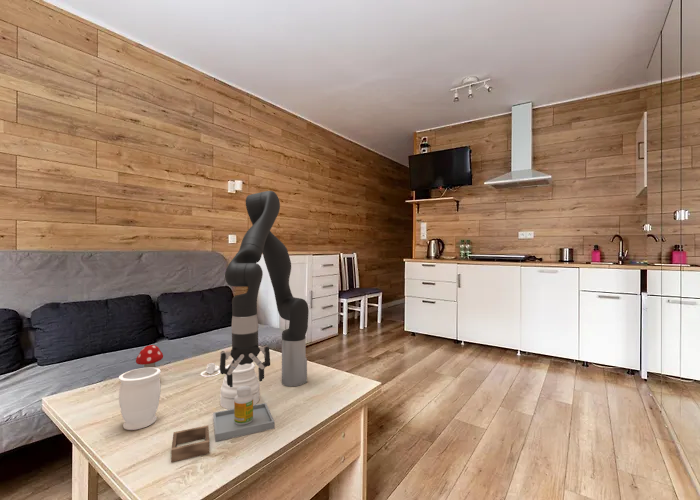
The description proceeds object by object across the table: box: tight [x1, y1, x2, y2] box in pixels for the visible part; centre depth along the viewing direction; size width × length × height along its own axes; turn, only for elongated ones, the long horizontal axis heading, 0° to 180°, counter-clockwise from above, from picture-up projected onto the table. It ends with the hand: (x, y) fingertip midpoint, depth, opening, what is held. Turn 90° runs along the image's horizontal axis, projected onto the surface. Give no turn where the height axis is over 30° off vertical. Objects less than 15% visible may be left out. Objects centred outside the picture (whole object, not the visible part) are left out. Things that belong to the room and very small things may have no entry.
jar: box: [118, 367, 162, 431], centre depth 99 cm, size 11×10×15 cm
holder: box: [170, 424, 210, 463], centre depth 87 cm, size 9×9×3 cm
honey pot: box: [219, 358, 261, 410], centre depth 114 cm, size 13×13×18 cm
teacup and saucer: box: [200, 362, 221, 378], centre depth 139 cm, size 9×8×4 cm
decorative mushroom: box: [135, 344, 164, 368], centre depth 127 cm, size 10×9×15 cm
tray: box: [212, 402, 275, 443], centre depth 99 cm, size 16×13×2 cm
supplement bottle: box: [234, 386, 253, 425], centre depth 99 cm, size 5×5×10 cm
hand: (245, 383), depth 99 cm, fingers open, 8 cm apart
